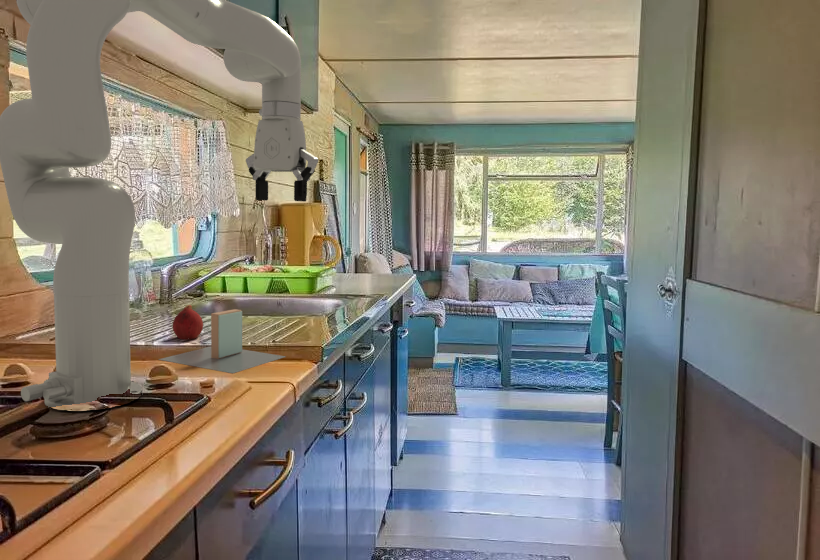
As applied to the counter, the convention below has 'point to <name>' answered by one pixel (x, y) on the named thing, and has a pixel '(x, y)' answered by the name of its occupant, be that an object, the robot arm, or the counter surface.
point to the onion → (187, 324)
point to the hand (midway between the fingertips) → (280, 200)
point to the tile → (226, 333)
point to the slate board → (223, 360)
